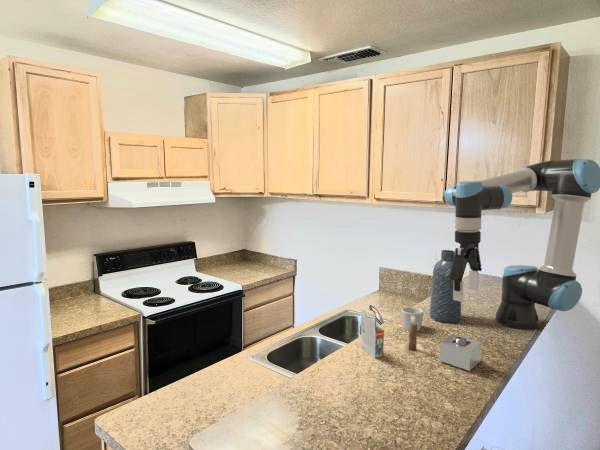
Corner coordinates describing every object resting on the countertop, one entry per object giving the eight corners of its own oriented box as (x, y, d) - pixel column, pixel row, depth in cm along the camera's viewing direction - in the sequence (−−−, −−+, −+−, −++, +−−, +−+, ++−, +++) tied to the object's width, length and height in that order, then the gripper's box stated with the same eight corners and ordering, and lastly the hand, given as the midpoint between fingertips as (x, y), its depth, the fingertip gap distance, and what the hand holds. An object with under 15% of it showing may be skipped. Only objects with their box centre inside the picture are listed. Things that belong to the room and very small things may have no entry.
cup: (424, 338, 138) (425, 317, 137) (401, 336, 140) (402, 315, 139) (421, 327, 149) (422, 307, 148) (400, 325, 150) (400, 305, 149)
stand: (420, 346, 131) (421, 320, 130) (428, 357, 124) (429, 329, 122) (397, 346, 131) (398, 320, 130) (403, 357, 123) (404, 329, 122)
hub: (466, 359, 122) (467, 333, 121) (477, 371, 115) (478, 344, 114) (442, 359, 122) (443, 334, 121) (452, 371, 115) (453, 344, 114)
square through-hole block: (480, 360, 118) (481, 342, 118) (469, 370, 112) (470, 351, 111) (452, 351, 125) (453, 333, 124) (439, 360, 118) (440, 342, 118)
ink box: (369, 349, 130) (370, 307, 128) (383, 359, 123) (385, 315, 121) (360, 351, 128) (361, 309, 126) (374, 361, 121) (375, 317, 119)
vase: (431, 311, 166) (434, 247, 163) (461, 315, 161) (464, 249, 158) (427, 320, 156) (430, 252, 152) (460, 325, 150) (463, 255, 147)
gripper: (469, 224, 132) (468, 283, 135) (439, 234, 114) (438, 302, 117) (492, 226, 127) (490, 287, 130) (465, 237, 109) (463, 308, 112)
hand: (465, 295), depth 123 cm, fingers open, 13 cm apart
